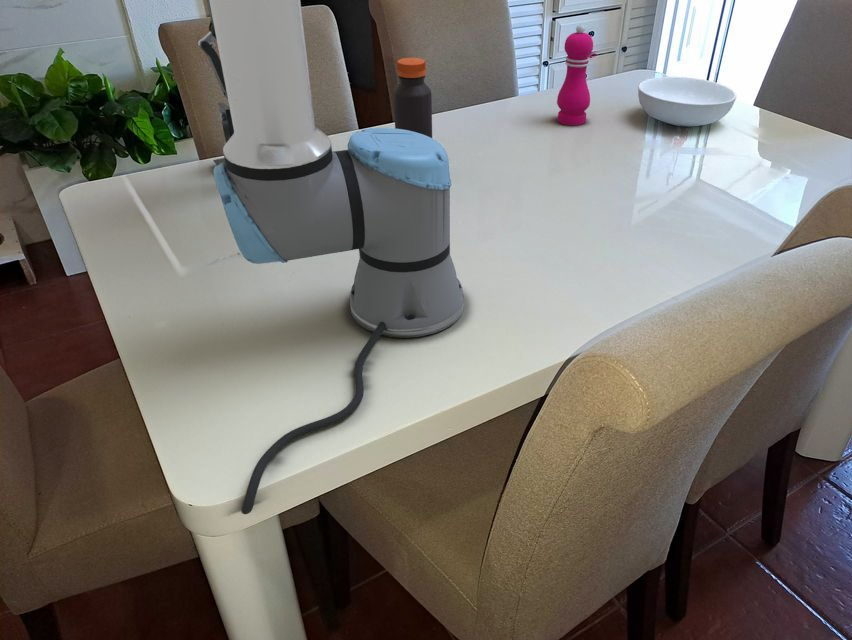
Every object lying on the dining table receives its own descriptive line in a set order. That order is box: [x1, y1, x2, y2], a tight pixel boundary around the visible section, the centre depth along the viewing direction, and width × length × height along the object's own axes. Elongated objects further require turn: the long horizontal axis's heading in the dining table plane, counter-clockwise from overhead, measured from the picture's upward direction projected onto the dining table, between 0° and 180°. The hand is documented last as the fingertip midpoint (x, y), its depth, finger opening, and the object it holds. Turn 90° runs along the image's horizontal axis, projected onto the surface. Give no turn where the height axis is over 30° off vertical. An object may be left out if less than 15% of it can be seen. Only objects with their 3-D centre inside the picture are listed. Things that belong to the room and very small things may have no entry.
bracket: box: [213, 101, 234, 166], centre depth 128 cm, size 12×9×13 cm
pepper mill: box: [556, 24, 594, 126], centre depth 151 cm, size 7×7×20 cm
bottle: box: [392, 57, 433, 139], centre depth 127 cm, size 7×7×20 cm
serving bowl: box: [637, 76, 737, 128], centre depth 156 cm, size 21×21×7 cm
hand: (256, 140), depth 120 cm, fingers closed
